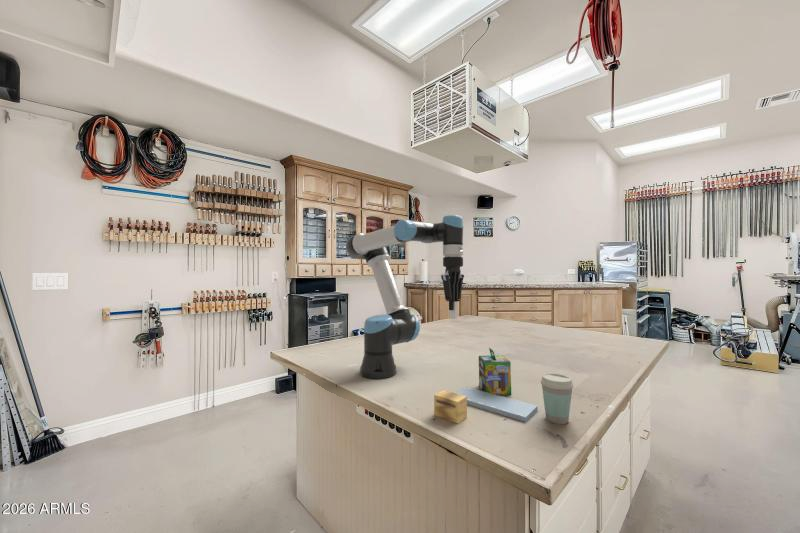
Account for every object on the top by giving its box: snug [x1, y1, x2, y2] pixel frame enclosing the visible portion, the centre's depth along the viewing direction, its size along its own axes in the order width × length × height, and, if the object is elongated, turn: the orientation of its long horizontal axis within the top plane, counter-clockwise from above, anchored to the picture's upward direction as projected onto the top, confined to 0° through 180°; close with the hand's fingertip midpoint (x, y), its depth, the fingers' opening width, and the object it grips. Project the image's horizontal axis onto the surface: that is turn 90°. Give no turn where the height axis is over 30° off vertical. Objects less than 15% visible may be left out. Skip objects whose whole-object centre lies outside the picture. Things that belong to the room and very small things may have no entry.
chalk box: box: [478, 347, 512, 396], centre depth 114 cm, size 9×9×15 cm
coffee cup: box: [540, 372, 574, 425], centre depth 92 cm, size 8×8×12 cm
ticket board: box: [455, 386, 539, 423], centre depth 102 cm, size 24×10×2 cm, turn 49°
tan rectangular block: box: [433, 389, 468, 424], centre depth 94 cm, size 8×5×6 cm, turn 49°
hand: (453, 318), depth 122 cm, fingers closed
